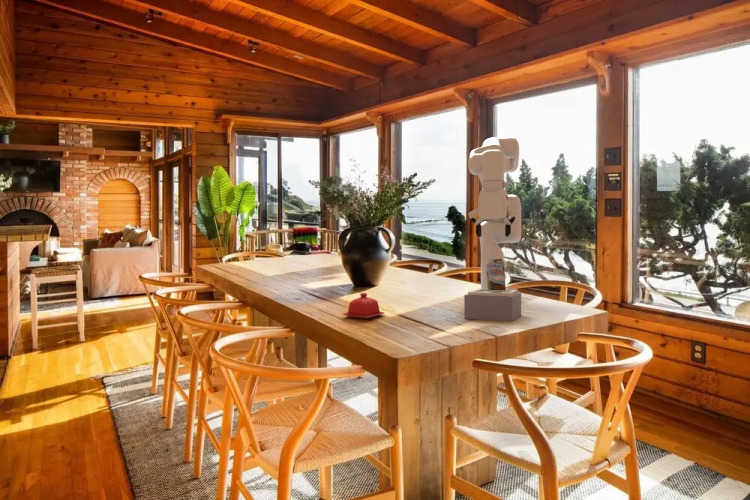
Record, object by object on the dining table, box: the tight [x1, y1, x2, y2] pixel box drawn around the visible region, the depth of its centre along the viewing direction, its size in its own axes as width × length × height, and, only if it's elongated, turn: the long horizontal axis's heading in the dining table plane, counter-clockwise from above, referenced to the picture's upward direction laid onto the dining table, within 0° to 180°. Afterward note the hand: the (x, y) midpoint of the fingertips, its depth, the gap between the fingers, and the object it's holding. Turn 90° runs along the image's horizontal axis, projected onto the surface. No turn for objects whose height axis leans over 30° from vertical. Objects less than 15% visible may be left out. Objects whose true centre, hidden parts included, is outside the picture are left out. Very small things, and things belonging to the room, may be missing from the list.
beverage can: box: [486, 258, 507, 293], centre depth 189 cm, size 6×7×12 cm
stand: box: [463, 288, 522, 322], centre depth 189 cm, size 16×16×9 cm
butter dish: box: [342, 292, 385, 320], centre depth 194 cm, size 12×12×8 cm
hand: (493, 236), depth 189 cm, fingers open, 9 cm apart
